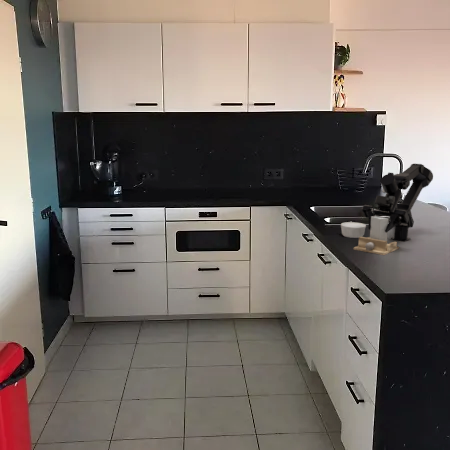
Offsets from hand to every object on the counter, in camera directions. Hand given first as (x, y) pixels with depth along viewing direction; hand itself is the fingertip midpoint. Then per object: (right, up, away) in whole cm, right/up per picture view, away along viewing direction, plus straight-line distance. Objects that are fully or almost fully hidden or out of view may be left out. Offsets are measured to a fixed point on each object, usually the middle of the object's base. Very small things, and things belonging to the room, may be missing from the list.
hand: (377, 230), depth 204 cm
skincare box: (+1, -7, +3) cm, 7 cm away
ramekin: (-4, -3, +26) cm, 26 cm away
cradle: (0, -7, +2) cm, 8 cm away
